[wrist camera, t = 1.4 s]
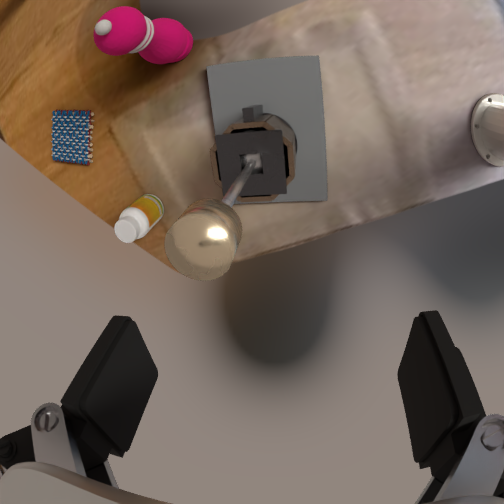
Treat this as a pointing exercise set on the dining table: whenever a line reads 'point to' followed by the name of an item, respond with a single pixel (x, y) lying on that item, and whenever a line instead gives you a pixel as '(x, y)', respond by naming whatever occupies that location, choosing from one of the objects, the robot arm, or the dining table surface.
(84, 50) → the dining table surface
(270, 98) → the slate board
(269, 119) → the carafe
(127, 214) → the supplement bottle
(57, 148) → the woven mat
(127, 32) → the pepper mill
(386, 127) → the dining table surface
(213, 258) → the plunger
